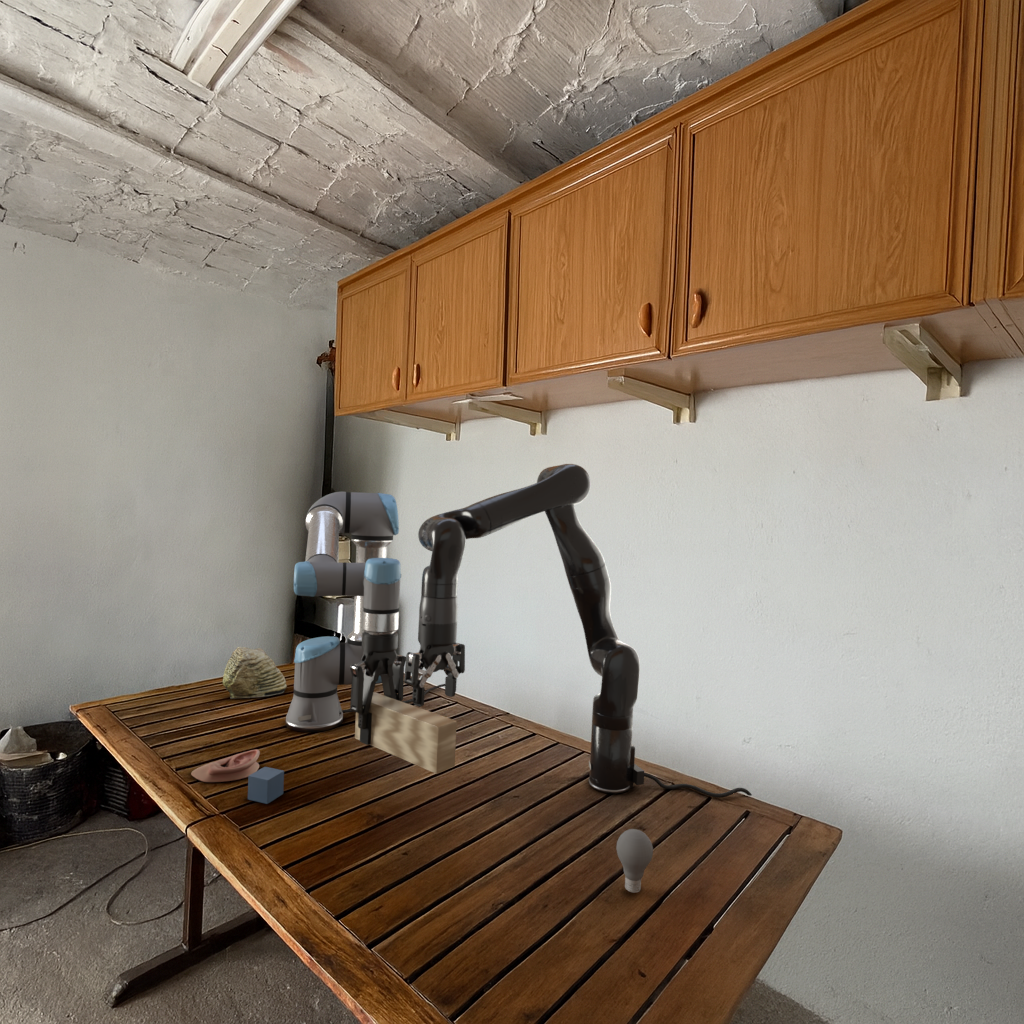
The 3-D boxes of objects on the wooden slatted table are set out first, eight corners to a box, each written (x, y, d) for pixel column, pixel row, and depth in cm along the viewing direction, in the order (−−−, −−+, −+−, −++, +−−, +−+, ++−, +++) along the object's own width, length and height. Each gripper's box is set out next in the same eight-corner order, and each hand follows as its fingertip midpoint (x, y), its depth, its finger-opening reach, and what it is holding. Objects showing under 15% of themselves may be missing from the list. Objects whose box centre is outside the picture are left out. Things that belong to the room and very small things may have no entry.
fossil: (218, 695, 195) (220, 647, 195) (278, 685, 208) (279, 640, 207) (228, 703, 189) (230, 653, 188) (289, 692, 201) (290, 645, 201)
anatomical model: (182, 760, 139) (216, 741, 150) (181, 778, 139) (216, 758, 150) (236, 768, 136) (267, 748, 147) (235, 786, 136) (266, 765, 147)
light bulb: (610, 879, 108) (613, 822, 108) (644, 879, 109) (647, 822, 109) (619, 902, 102) (622, 840, 102) (655, 901, 103) (658, 840, 103)
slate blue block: (264, 789, 136) (265, 766, 136) (283, 793, 134) (284, 770, 134) (247, 799, 131) (248, 775, 131) (267, 804, 130) (268, 780, 130)
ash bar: (354, 738, 136) (356, 696, 136) (373, 732, 140) (374, 691, 140) (436, 774, 120) (438, 727, 120) (454, 766, 124) (456, 720, 124)
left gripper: (400, 623, 144) (396, 724, 145) (334, 634, 130) (329, 746, 131) (423, 628, 140) (419, 732, 140) (356, 640, 126) (352, 756, 126)
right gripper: (449, 612, 132) (446, 689, 132) (397, 620, 121) (394, 704, 121) (476, 617, 127) (472, 697, 128) (424, 626, 116) (420, 713, 117)
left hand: (376, 739), depth 135 cm, fingers closed on ash bar, 5 cm apart
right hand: (434, 700), depth 125 cm, fingers open, 8 cm apart
